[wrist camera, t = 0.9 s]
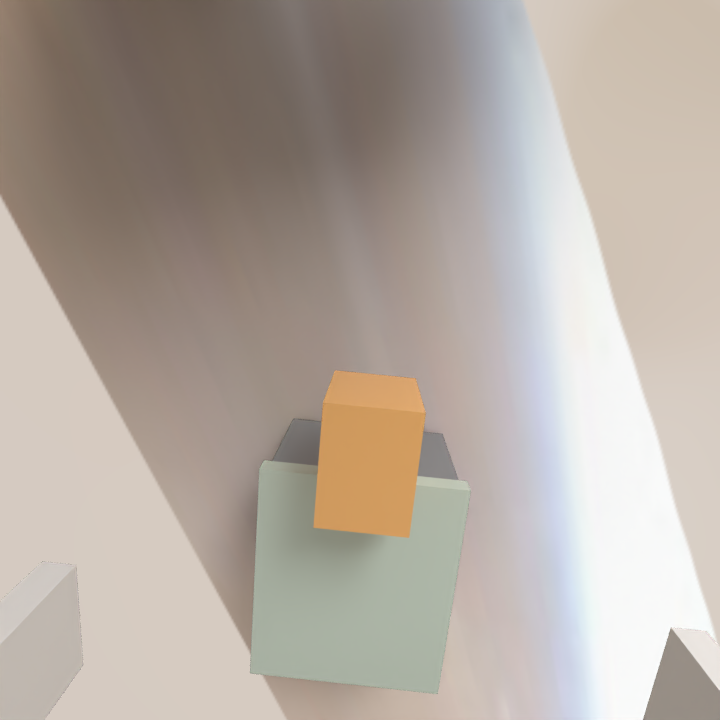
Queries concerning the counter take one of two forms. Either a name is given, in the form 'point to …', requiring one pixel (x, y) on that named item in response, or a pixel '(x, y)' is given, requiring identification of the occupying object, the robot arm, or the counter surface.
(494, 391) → the counter surface
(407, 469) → the lid
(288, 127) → the counter surface
